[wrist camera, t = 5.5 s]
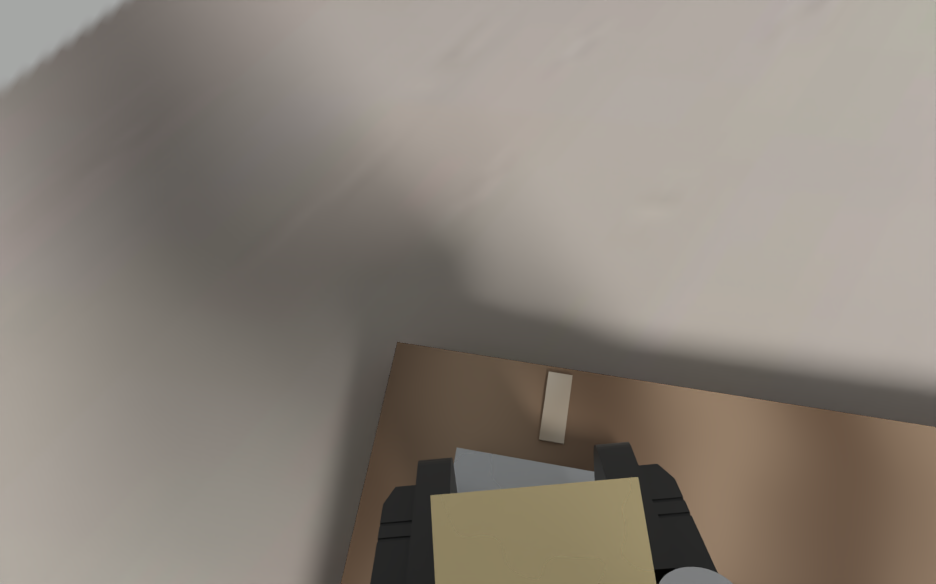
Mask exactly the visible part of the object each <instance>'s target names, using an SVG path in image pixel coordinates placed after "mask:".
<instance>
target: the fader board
mask: <svg viewBox="0 0 936 584" xmlns="http://www.w3.org/2000/svg"><path fill="white" fill-rule="evenodd" d="M621 442H629V443H630V445H631V447H632V450H633V452H634V455H635V457H636V460H637V462H638V465H648V464H659V465H660V466H661V467H662V468H663V469H664V470H666V471H667V472H668V473H669V474H670V475H671V476H672V477H674V478H675V480H676V482H677V484H678V487H679V489H680V491H681V493H682V495H683V500H685V502H686V504H687V506H688V509H689V511H690V515H692V517H693V520H694V522H695V524H696V526H697V528H698V530H699V533H700V535H701V537H702V539H703V541H704V544H705V546H706V548H707V550H708V552H709V555H710V557H711V559H712V561H713V563H714V566H715V568H716V570H717V572H718V573H719V574H721V575H722V576H724V577H725V578H727V579H728V580H729V581H731V582H732V583H733V584H936V427H932V426H926V425H919V424H913V423H907V422H900V421H894V420H888V419H882V418H875V417H869V416H863V415H856V414H850V413H844V412H837V411H831V410H825V409H818V408H812V407H806V406H799V405H793V404H787V403H780V402H774V401H768V400H761V399H755V398H749V397H742V396H736V395H730V394H723V393H717V392H711V391H704V390H698V389H692V388H685V387H679V386H673V385H666V384H660V383H654V382H647V381H641V380H635V379H628V378H622V377H616V376H609V375H603V374H597V373H590V372H584V371H578V370H571V369H565V368H559V367H552V366H546V365H540V364H533V363H527V362H521V361H514V360H508V359H502V358H495V357H489V356H483V355H476V354H470V353H464V352H457V351H451V350H445V349H438V348H432V347H426V346H419V345H413V344H407V343H401V342H397V345H396V350H395V354H394V358H393V363H392V367H391V371H390V375H389V380H388V384H387V388H386V392H385V397H384V401H383V405H382V410H381V414H380V418H379V422H378V427H377V431H376V435H375V439H374V444H373V448H372V452H371V456H370V461H369V465H368V469H367V474H366V478H365V482H364V486H363V491H362V495H361V499H360V503H359V508H358V512H357V516H356V521H355V525H354V529H353V533H352V538H351V542H350V546H349V550H348V555H347V559H346V563H345V568H344V572H343V576H342V580H341V584H370V582H371V575H372V569H373V563H374V557H375V551H376V545H377V542H378V532H379V527H380V520H381V514H382V508H383V504H384V502H385V501H386V499H387V498H388V497H389V495H390V494H391V492H392V491H393V490H394V488H395V487H399V486H410V485H416V476H417V466H418V461H419V460H430V459H441V458H452V459H453V464H454V459H455V454H456V449H457V448H463V449H468V450H474V451H480V452H485V453H491V454H497V455H502V456H508V457H514V458H519V459H525V460H531V461H536V462H542V463H547V464H553V465H559V466H564V467H570V468H576V469H581V470H587V471H593V472H594V445H598V444H610V443H621Z"/></svg>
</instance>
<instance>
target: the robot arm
mask: <svg viewBox="0 0 936 584" xmlns="http://www.w3.org/2000/svg"><path fill="white" fill-rule="evenodd" d="M631 477H638V479H639V485H640V491H641V496H642V502H643V508H644V514H645V520H646V526H647V532H648V537H649V543H650V549H651V555H652V561H653V567H654V572H655V578H656V584H733V583H732V582H731V581H729V580H728V579H727V578H725V577H724V576H722V575H721V574H719V573H718V572H717V570H716V568H715V566H714V563H713V561H712V559H711V557H710V555H709V552H708V550H707V548H706V546H705V544H704V541H703V539H702V537H701V535H700V533H699V530H698V528H697V526H696V524H695V522H694V520H693V517H692V515H690V511H689V509H688V506H687V504H686V502H685V500H683V495H682V493H681V491H680V489H679V487H678V484H677V482H676V480H675V478H674V477H672V476H671V475H670V474H669V473H668V472H667V471H666V470H664V469H663V468H662V467H661V466H660V465H659V464H648V465H638V462H637V460H636V457H635V455H634V452H633V450H632V447H631V445H630V443H629V442H621V443H610V444H598V445H594V478H595V481H598V480H609V479H620V478H631ZM452 493H457V486H456V478H455V471H454V464H453V459H452V458H441V459H430V460H419V461H418V466H417V476H416V485H410V486H399V487H395V488H394V490H393V491H392V492H391V494H390V495H389V497H388V498H387V499H386V501H385V502H384V504H383V508H382V514H381V520H380V527H379V532H378V542H377V545H376V551H375V557H374V563H373V569H372V575H371V582H370V584H435V571H434V552H433V534H432V516H431V498H430V495H440V494H452Z"/></svg>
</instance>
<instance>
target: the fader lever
mask: <svg viewBox="0 0 936 584" xmlns="http://www.w3.org/2000/svg"><path fill="white" fill-rule="evenodd" d="M454 471H455V478H456V486H457V493H452V494H440V495H430V498H431V516H432V534H433V552H434V571H435V584H656V578H655V572H654V567H653V561H652V555H651V549H650V543H649V537H648V532H647V526H646V520H645V514H644V508H643V502H642V496H641V491H640V485H639V479H638V477H631V478H620V479H609V480H598V481H595V478H594V472H593V471H587V470H581V469H576V468H570V467H564V466H559V465H553V464H547V463H542V462H536V461H531V460H525V459H519V458H514V457H508V456H502V455H497V454H491V453H485V452H480V451H474V450H468V449H463V448H457V449H456V454H455V459H454Z"/></svg>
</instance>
